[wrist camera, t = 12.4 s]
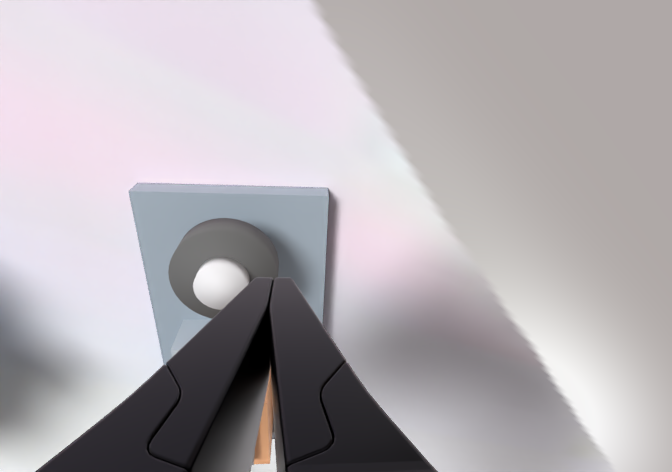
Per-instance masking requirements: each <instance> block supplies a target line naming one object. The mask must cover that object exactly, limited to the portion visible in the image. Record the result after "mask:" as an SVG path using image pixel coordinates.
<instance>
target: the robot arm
mask: <svg viewBox="0 0 672 472" xmlns="http://www.w3.org/2000/svg"><path fill="white" fill-rule="evenodd" d="M270 367H271V388H272V403H273V418H274V434H275V449H276V464H277V472H438V471H437V470H436V469H435V468H434V467H433V466H432V465H431V464H430V463H429V462H428V461H427V460H426V459H425V457H424V456H423V455H422V454H421V453H420V452H419V451H418V449H417V448H416V447H415V446H414V445H413V444H412V443H411V441H410V440H409V439H408V438H407V437H406V436H405V435H404V434H403V432H402V431H401V430H400V429H399V428H398V427H397V426H396V424H395V423H394V422H393V421H392V420H391V419H390V418H389V416H388V415H387V414H386V413H385V412H384V411H383V409H382V408H381V407H380V406H379V405H378V403H377V402H376V401H375V400H374V399H373V397H372V396H371V395H370V394H369V393H368V391H367V390H366V388H365V387H364V386H363V384H362V383H361V381H360V380H359V379H358V377H357V376H356V374H355V373H354V371H353V370H352V368H351V367H350V365H349V364H348V363H347V362H346V359H345V358H344V356H343V355H342V353H341V352H340V350H339V349H338V347H337V346H336V344H335V343H334V341H333V340H332V338H331V337H330V335H329V334H328V332H327V331H326V329H325V328H324V326H323V324H322V323H321V321H320V320H319V318H318V317H317V315H316V314H315V312H314V311H313V309H312V308H311V306H310V305H309V303H308V302H307V300H306V299H305V297H304V296H303V294H302V293H301V291H300V290H299V288H298V287H297V285H296V284H295V282H294V281H293V279H292V278H290V277H277V278H275V279H274V280H273V278H271V277H256V278H254V279H253V280H252V281H251V282H250V283H249V284H248V285H247V286H246V287H245V288H244V289H243V290H242V291H241V292H240V293H239V294H238V295H237V296H235V297H234V298H233V299H232V300H231V301H230V302H229V303H228V304H227V305H226V306H225V307H224V308H223V309H222V310H221V311H220V312H219V313H218V314H217V315H216V316H214V317H213V318H212V319H211V320H210V321H209V322H208V323H207V324H206V325H205V326H204V327H203V328H202V329H201V330H200V331H199V332H198V333H197V334H196V335H195V336H194V337H192V338H191V339H190V340H189V341H188V342H187V343H186V344H185V345H184V346H183V347H182V348H181V349H180V350H179V351H178V352H177V353H176V354H175V355H174V356H173V357H171V358H170V359H169V360H168V361H167V362H166V365H163V366H162V367H161V368H160V369H159V370H158V371H157V372H156V373H154V374H153V375H152V376H151V377H150V378H149V379H148V380H147V381H146V382H145V383H144V384H143V385H141V386H140V387H139V388H138V389H137V390H136V391H135V392H134V393H133V394H131V395H130V396H129V397H128V398H127V399H126V400H124V401H123V402H122V403H121V404H120V405H118V406H117V407H116V408H115V409H113V410H112V411H111V412H110V413H109V414H107V415H106V416H105V417H104V418H103V419H101V420H100V421H99V422H97V423H96V424H95V425H94V426H92V427H91V428H90V429H89V430H87V431H86V432H85V433H84V434H82V435H81V436H80V437H79V438H77V439H76V440H75V441H73V442H72V443H71V444H70V445H68V446H67V447H66V448H65V449H63V450H62V451H61V452H60V453H58V454H57V455H56V456H54V457H53V458H52V459H51V460H49V461H48V462H47V463H46V464H44V465H43V466H42V467H41V468H39V469H38V470H37V471H36V472H250V471H251V466H252V461H253V456H254V451H255V446H256V441H257V436H258V431H259V426H260V421H261V416H262V411H263V406H264V401H265V396H266V391H267V386H268V381H269V375H270Z"/></svg>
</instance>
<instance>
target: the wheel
mask: <svg viewBox="0 0 672 472" xmlns="http://www.w3.org/2000/svg"><path fill="white" fill-rule="evenodd" d="M278 271H279V258H278V254H277V251H276V248H275V246H274V245H273V243H272V241H271V240H270V239H269V237H268V236H267V235H266V234H265V233H264V232H262V231H261V230H260V229H258V228H257V227H255V226H253V225H252V224H249V223H247V222H244V221H241V220H237V219H232V218H216V219H211V220H207V221H204V222H202V223H200V224H198V225H196V226H194V227H193V228H192V229H190V230H189V231H188V232H187V233H186V234H185V236H184V237H183V239H182V240H181V242H180V244H179V245H178V247H177V249H176V250H175V252H174V254H173V255H172V258H171V260H170V264H169V270H168V274H169V281H170V285H171V287H172V289H173V291H174V293H175V295H176V296H177V297H178V298H179V300H180V301H181V302H182V303H183V304H184V305H185V306H187V307H188V308H189V309H191V310H192V311H194V312H196V313H198V314H200V315H202V316H205V317H208V318H213V317H214V316H216V315H217V314H218V313H219V312H220V311H221V310H222V309H223V308H224V307H225V306H226V305H227V304H228V303H229V302H230V301H231V300H232V299H233V298H234V297H235V296H237V295H238V294H239V293H240V292H241V291H242V290H243V289H244V288H245V287H246V286H247V285H248V284H249V283H250V282H251V281H252V280H253V279H254V278H256V277H271V278H273V280H274V279H275V278H277V277H278Z"/></svg>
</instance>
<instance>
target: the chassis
mask: <svg viewBox="0 0 672 472" xmlns="http://www.w3.org/2000/svg"><path fill="white" fill-rule="evenodd" d="M129 196H130V201H131V206H132V211H133V215H134V220H135V225H136V230H137V235H138V240H139V245H140V250H141V255H142V260H143V264H144V269H145V274H146V279H147V284H148V289H149V294H150V299H151V304H152V308H153V313H154V318H155V323H156V328H157V333H158V338H159V343H160V348H161V353H162V357H163V362H164V365H166V362H167V361H168V360H169V359H170V358H171V357H173V356H174V355H175V354H176V353H177V352H178V351H179V350H180V349H181V348H182V347H183V346H184V345H185V344H186V343H187V342H188V341H189V340H190V339H191V338H192V337H194V336H195V335H196V334H197V333H198V332H199V331H200V330H201V329H202V328H203V327H204V326H205V325H206V324H207V323H208V322H209V321H210V320H211V319H212V318H208V317H205V316H202V315H200V314H198V313H196V312H194V311H192V310H191V309H189V308H188V307H187V306H185V305H184V304H183V303H182V302H181V301H180V300H179V298H178V297H177V296H176V295H175V293H174V291H173V289H172V287H171V285H170V281H169V274H168V270H169V264H170V260H171V258H172V255H173V254H174V252H175V250H176V249H177V247H178V245H179V244H180V242H181V240H182V239H183V237H184V236H185V234H186V233H187V232H188V231H189V230H190V229H192V228H193V227H194V226H196V225H198V224H200V223H202V222H204V221H207V220H211V219H216V218H232V219H237V220H241V221H244V222H247V223H249V224H252V225H253V226H255V227H257V228H258V229H260V230H261V231H262V232H264V233H265V234H266V235H267V236H268V237H269V239H270V240H271V241H272V243H273V245H274V246H275V248H276V251H277V254H278V258H279V271H278V277H290V278H292V279H293V281H294V282H295V284H296V285H297V287H298V288H299V290H300V291H301V293H302V294H303V296H304V297H305V299H306V300H307V302H308V303H309V305H310V306H311V308H312V309H313V311H314V312H315V314H316V315H317V317H318V318H319V320H320V321H321V323H322V324H323V306H324V285H325V265H326V245H327V224H328V204H329V193H328V188H313V187H275V186H237V185H199V184H161V183H137V184H136V185H135V186H134V187H133V188H131V189H130V190H129ZM272 439H275V434H274V418H273V430H272Z"/></svg>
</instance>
